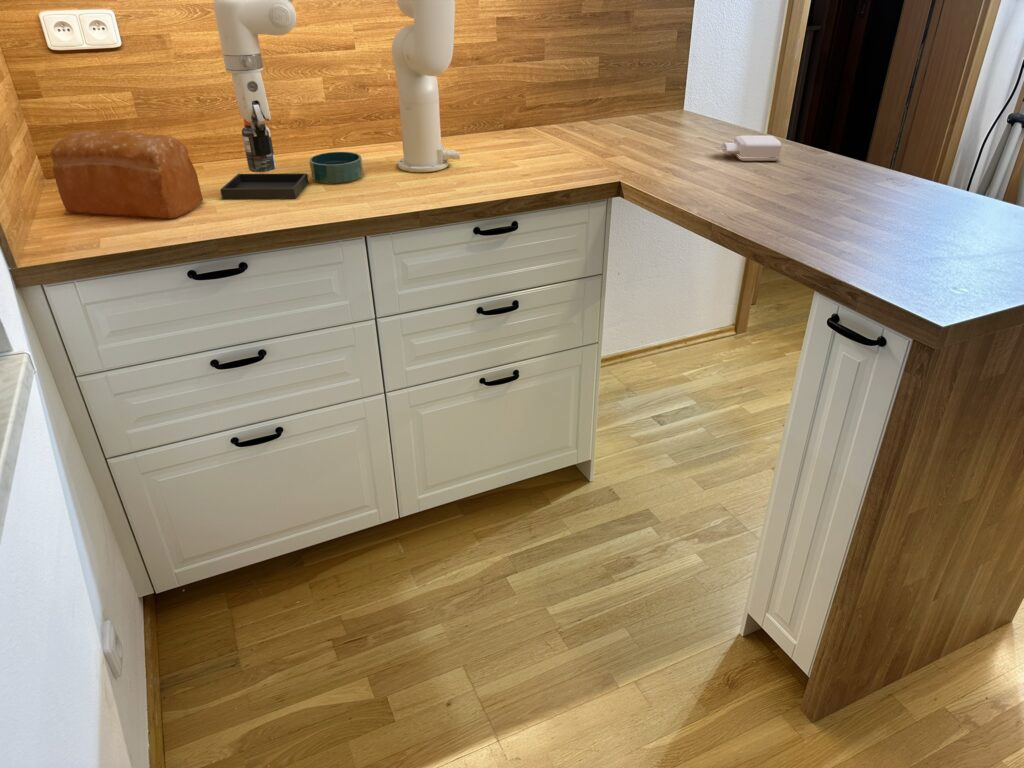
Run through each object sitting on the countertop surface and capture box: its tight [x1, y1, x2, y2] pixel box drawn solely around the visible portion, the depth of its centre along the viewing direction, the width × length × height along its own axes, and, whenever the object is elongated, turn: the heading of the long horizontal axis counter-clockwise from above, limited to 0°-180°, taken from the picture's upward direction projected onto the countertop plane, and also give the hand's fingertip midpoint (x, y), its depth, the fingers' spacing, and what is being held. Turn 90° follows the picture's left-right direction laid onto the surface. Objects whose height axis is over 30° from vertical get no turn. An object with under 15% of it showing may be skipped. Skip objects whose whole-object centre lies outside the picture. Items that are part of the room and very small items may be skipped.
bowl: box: [308, 151, 364, 185], centre depth 174 cm, size 12×12×4 cm
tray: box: [219, 172, 310, 200], centre depth 165 cm, size 16×12×2 cm
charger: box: [714, 135, 782, 162], centre depth 187 cm, size 5×9×15 cm
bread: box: [49, 130, 204, 219], centre depth 152 cm, size 14×26×16 cm, turn 80°
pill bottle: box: [241, 116, 277, 174], centre depth 160 cm, size 6×6×11 cm
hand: (259, 150), depth 161 cm, fingers closed on pill bottle, 6 cm apart
